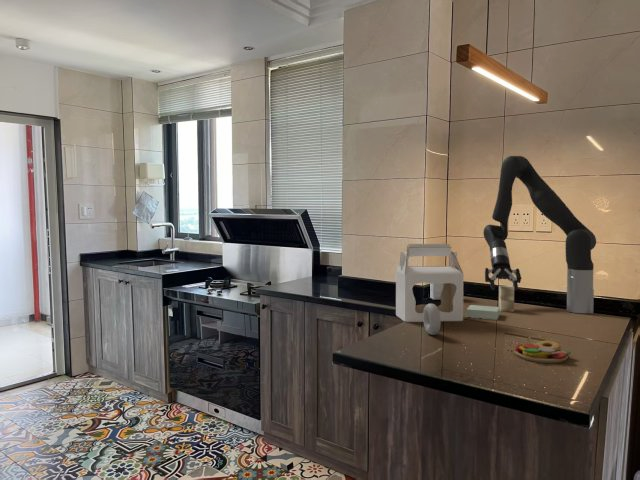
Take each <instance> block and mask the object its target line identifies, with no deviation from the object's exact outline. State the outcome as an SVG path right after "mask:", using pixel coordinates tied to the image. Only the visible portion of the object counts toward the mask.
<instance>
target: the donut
mask: <svg viewBox="0 0 640 480" xmlns="http://www.w3.org/2000/svg"><path fill="white" fill-rule="evenodd" d="M425 305H426V306H425V308H424V312H423V322H422V323H423V325H424V329H425V331H426V333H427V334H429V335H431V336H435V335H437V334H438V333H439V331H440V329H441V326H442V325H441V322H442V321H441V318H440V313H439V310H438V308H437V307H438V306H437V305H436V304H434V303H428V304H427V303H426V304H425Z"/></svg>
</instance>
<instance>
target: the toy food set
mask: <svg viewBox="0 0 640 480" xmlns="http://www.w3.org/2000/svg"><path fill="white" fill-rule="evenodd" d="M515 346H516V347H515V349H514V354H515V355H517V357H519V358H521V359H523V360H527V361H531V362H537V363H545V364H547V363H548V364H553V363H554V364H556V363H562V362H564V361H565V360H567V359H568V357H569V356H570V355H571V351H570V350H562V349H561V344H559V343H558V342H555V341H552V340H540V341H537V342H536V343H533V344H530V343H529V344H528V343H526V344H524V345H522V344H517V345H515Z"/></svg>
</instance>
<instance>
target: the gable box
mask: <svg viewBox="0 0 640 480" xmlns="http://www.w3.org/2000/svg"><path fill="white" fill-rule="evenodd" d="M457 253H458V252H456V251H455V252H454V251H452V246H451V245H450V244H449V243H408V245H407V248H406V251H405V252H400V259H399V264H398V266H397V268H396V270H395V315H396V317H398V318H399V319H401V320H402V321H403V322H404V323H424V322H423V312H424V308H425V306H426V305H427V304H417V305H416V302H417V301H416V298H415V296H414V290H413V287H414V286H415V285H416V284H420V283H423V284H425V283H426V284H429V283H432V284H444V286H443V290H442V292H441V300H440V305H438V306H437V308H438V310H439V313H440V318H441V322H463V321H464V271H463V270H462V268H461V265H460V264H459V261H458V254H457ZM410 257H411V258H413V257H448V258H449V259H448V264H449V265H444V266H443V265H441V266H440V265H439V266H438V265H437V266H435V265H433V266H432V265H431V266H428V265H427V266H426V265H425V266H424V265H423V266H421V265H420V266H417V265H416V266H413V265H411V266H409V259H410Z"/></svg>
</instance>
